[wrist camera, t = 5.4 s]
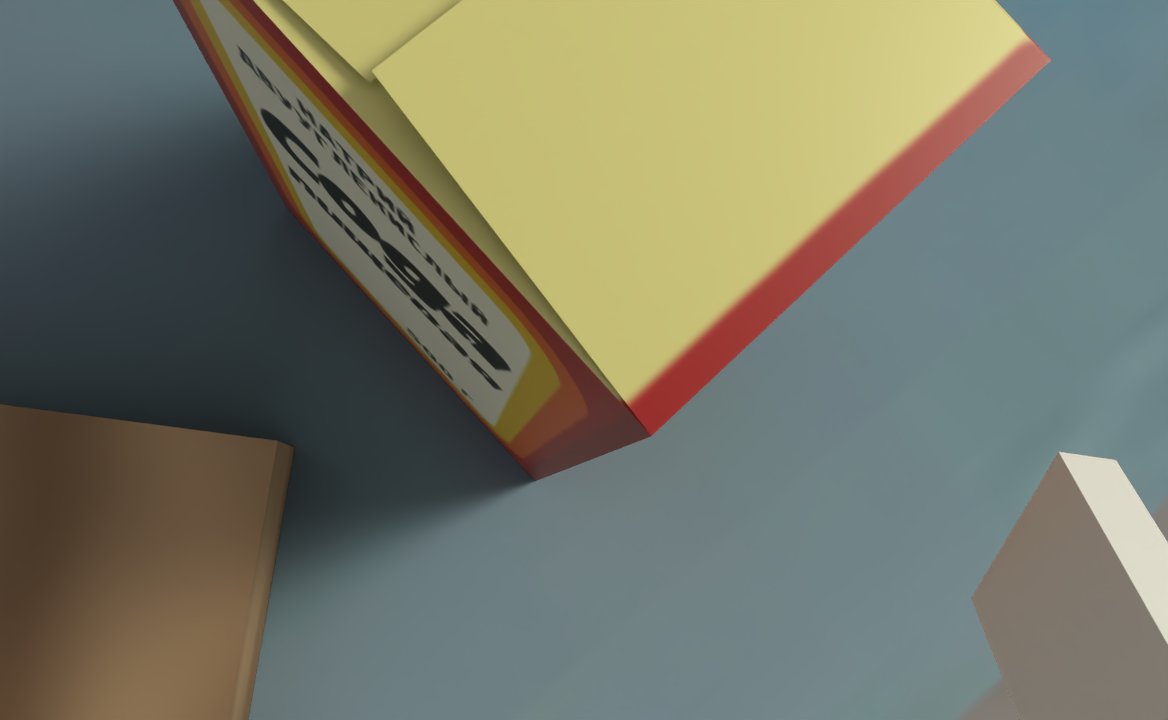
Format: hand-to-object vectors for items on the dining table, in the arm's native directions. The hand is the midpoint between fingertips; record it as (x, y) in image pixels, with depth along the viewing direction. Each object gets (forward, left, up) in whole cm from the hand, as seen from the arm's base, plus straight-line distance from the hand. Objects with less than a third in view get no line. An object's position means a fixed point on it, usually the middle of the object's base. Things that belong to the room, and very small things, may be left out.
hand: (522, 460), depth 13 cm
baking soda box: (0, +6, -14) cm, 15 cm away
